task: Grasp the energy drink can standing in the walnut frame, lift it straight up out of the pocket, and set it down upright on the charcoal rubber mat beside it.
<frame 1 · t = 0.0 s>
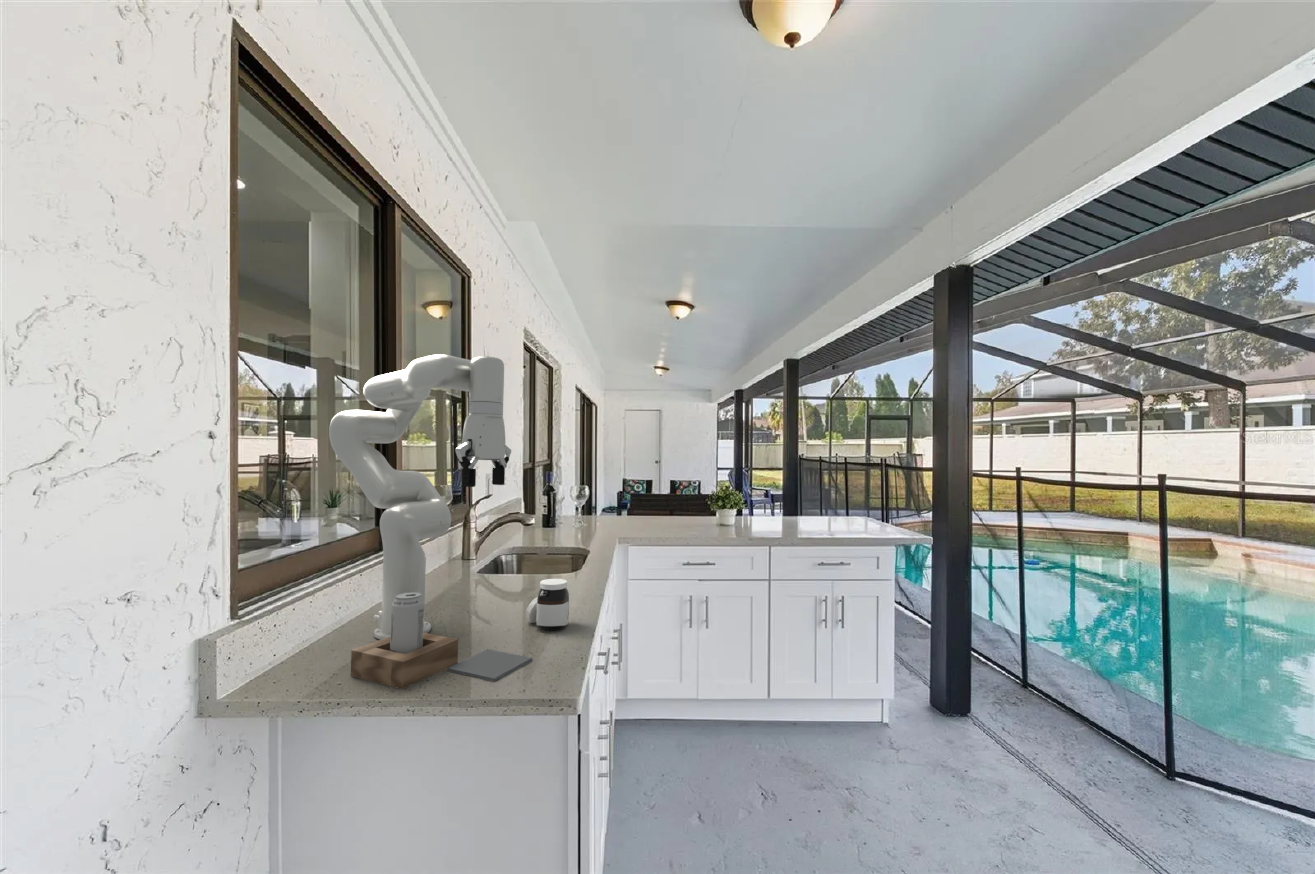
hand: (484, 485, 125), 37 cm above the counter, tool pointing down, fingers open, 9 cm apart
energy drink can: (405, 670, 111), resting in walnut frame
walnut frame: (405, 669, 111), on the counter
spread jar: (546, 627, 140), on the counter
rubber mat: (490, 665, 113), on the counter
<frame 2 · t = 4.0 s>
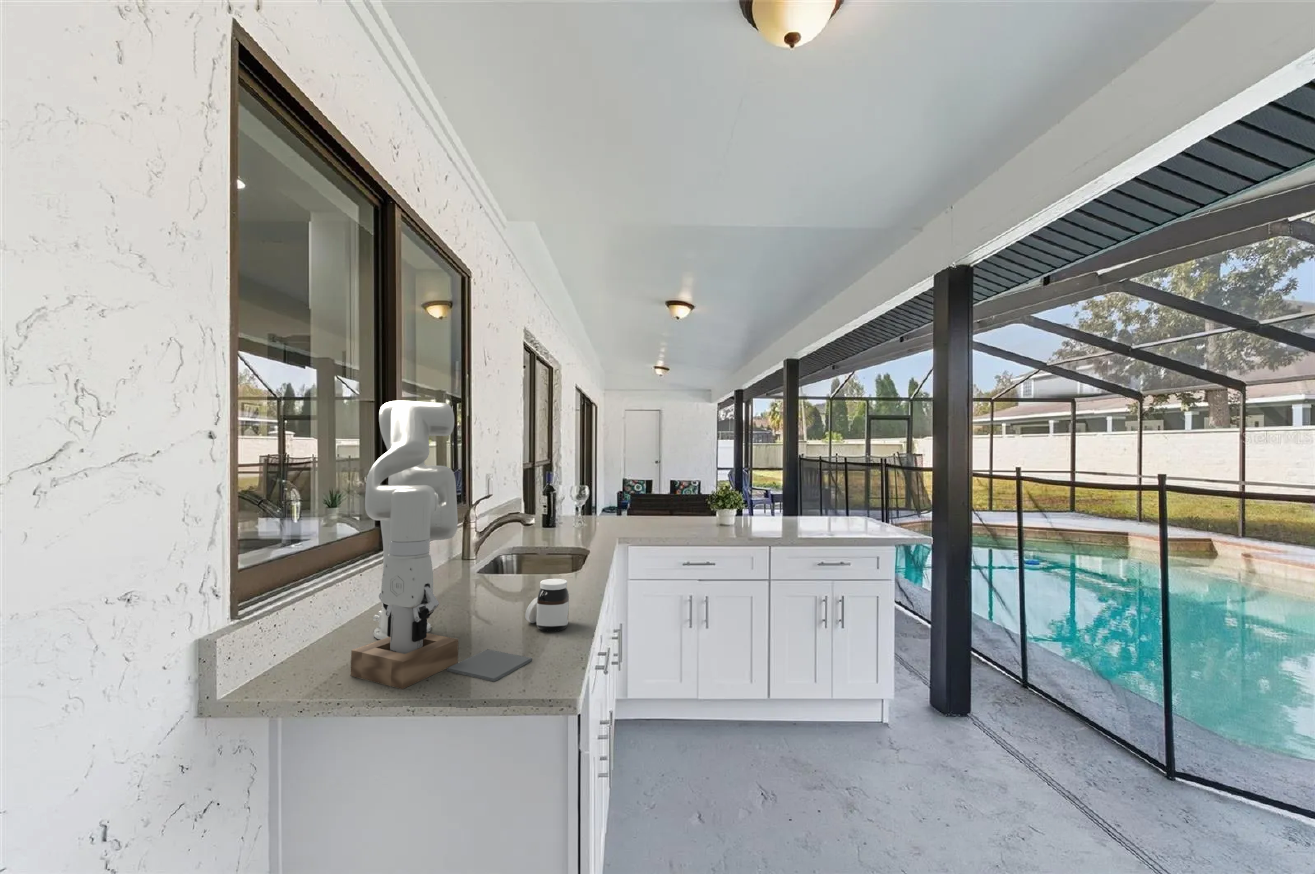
hand: (406, 636, 111), 7 cm above the counter, tool pointing down, fingers closed on energy drink can, 6 cm apart
energy drink can: (405, 670, 111), resting in walnut frame, touching gripper
everything else where it was.
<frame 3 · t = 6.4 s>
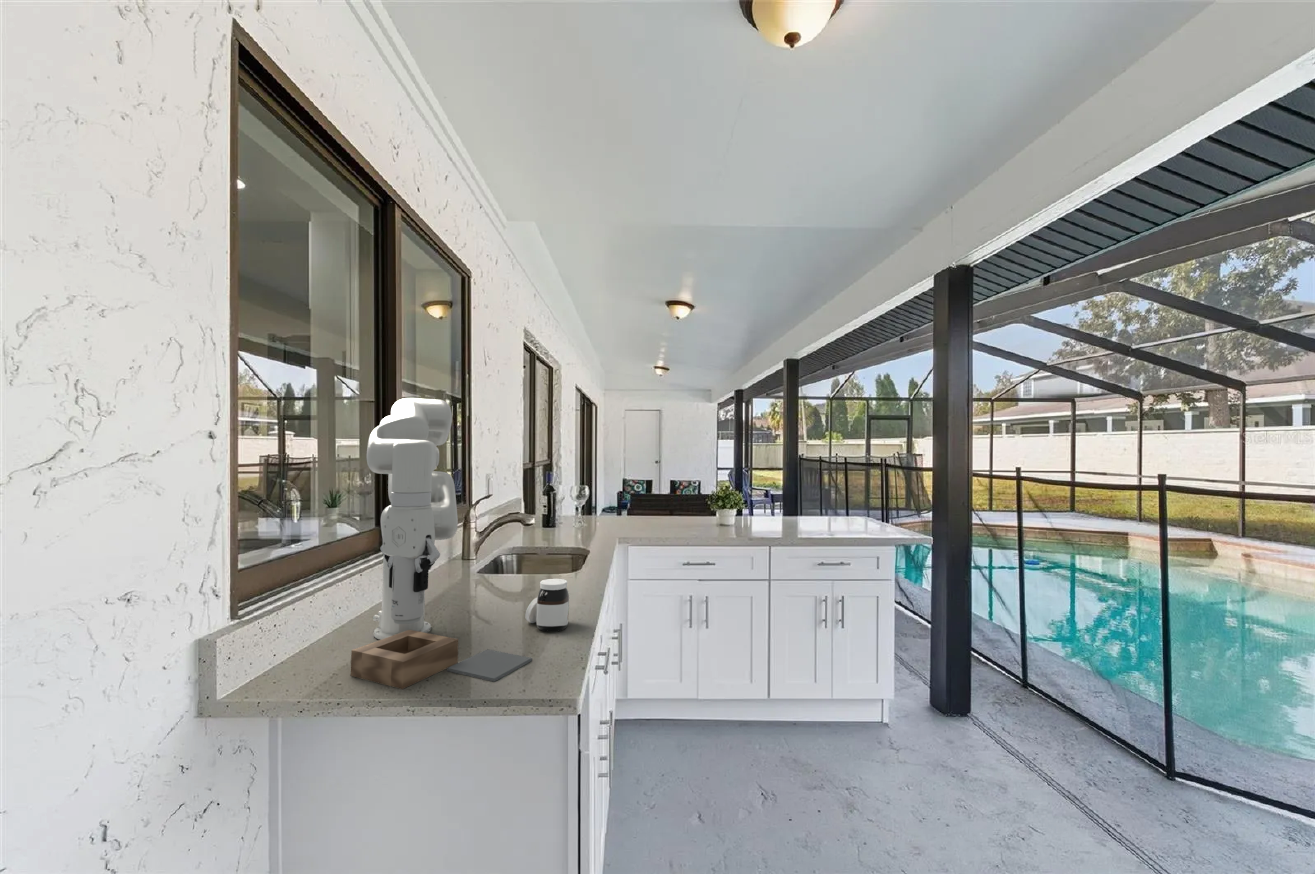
hand: (408, 587, 112), 16 cm above the counter, tool pointing down, fingers closed on energy drink can, 6 cm apart
energy drink can: (407, 621, 111), point 10 cm above the counter, touching gripper
everything else where it was.
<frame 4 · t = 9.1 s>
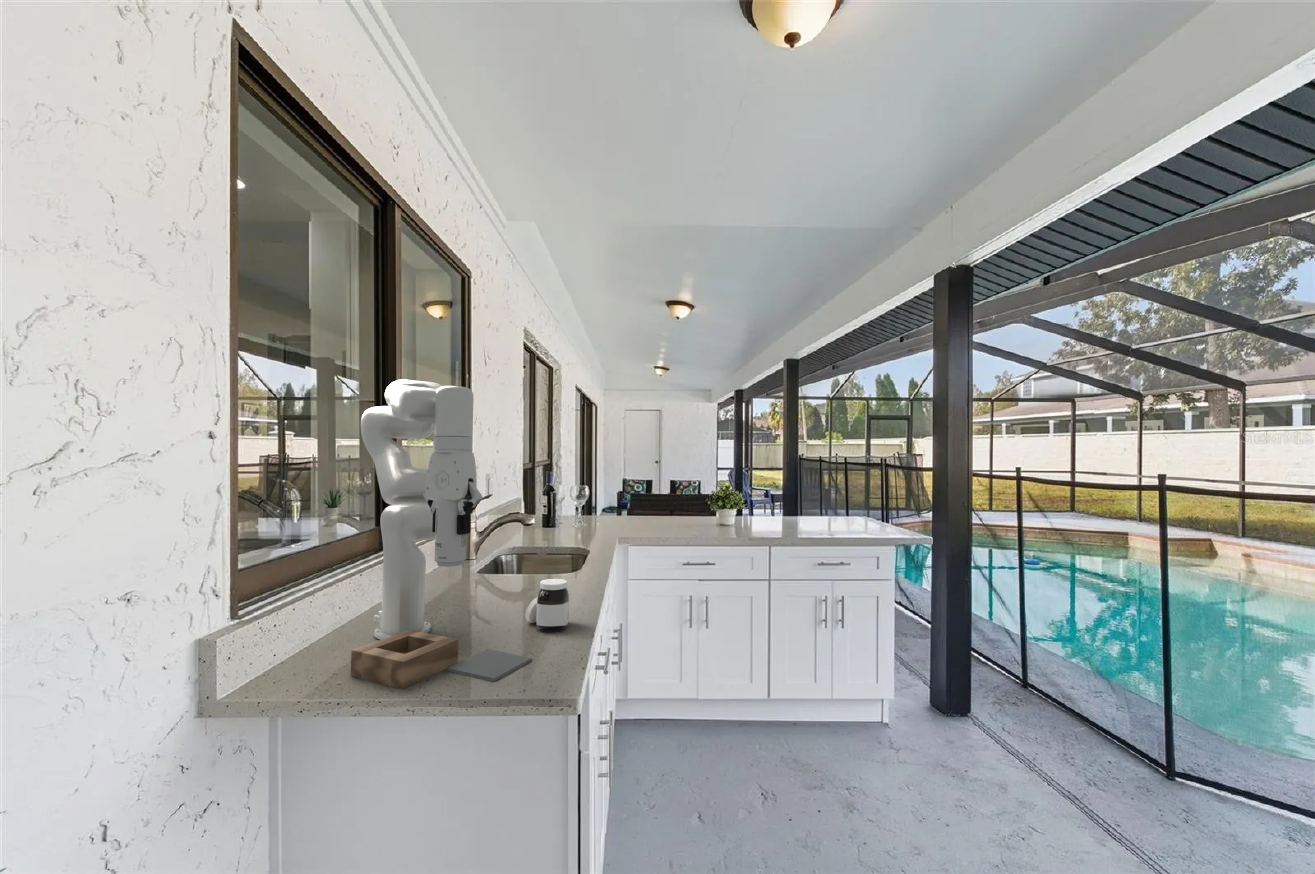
hand: (451, 532, 113), 28 cm above the counter, tool pointing down, fingers closed on energy drink can, 6 cm apart
energy drink can: (450, 565, 112), point 21 cm above the counter, touching gripper
everything else where it was.
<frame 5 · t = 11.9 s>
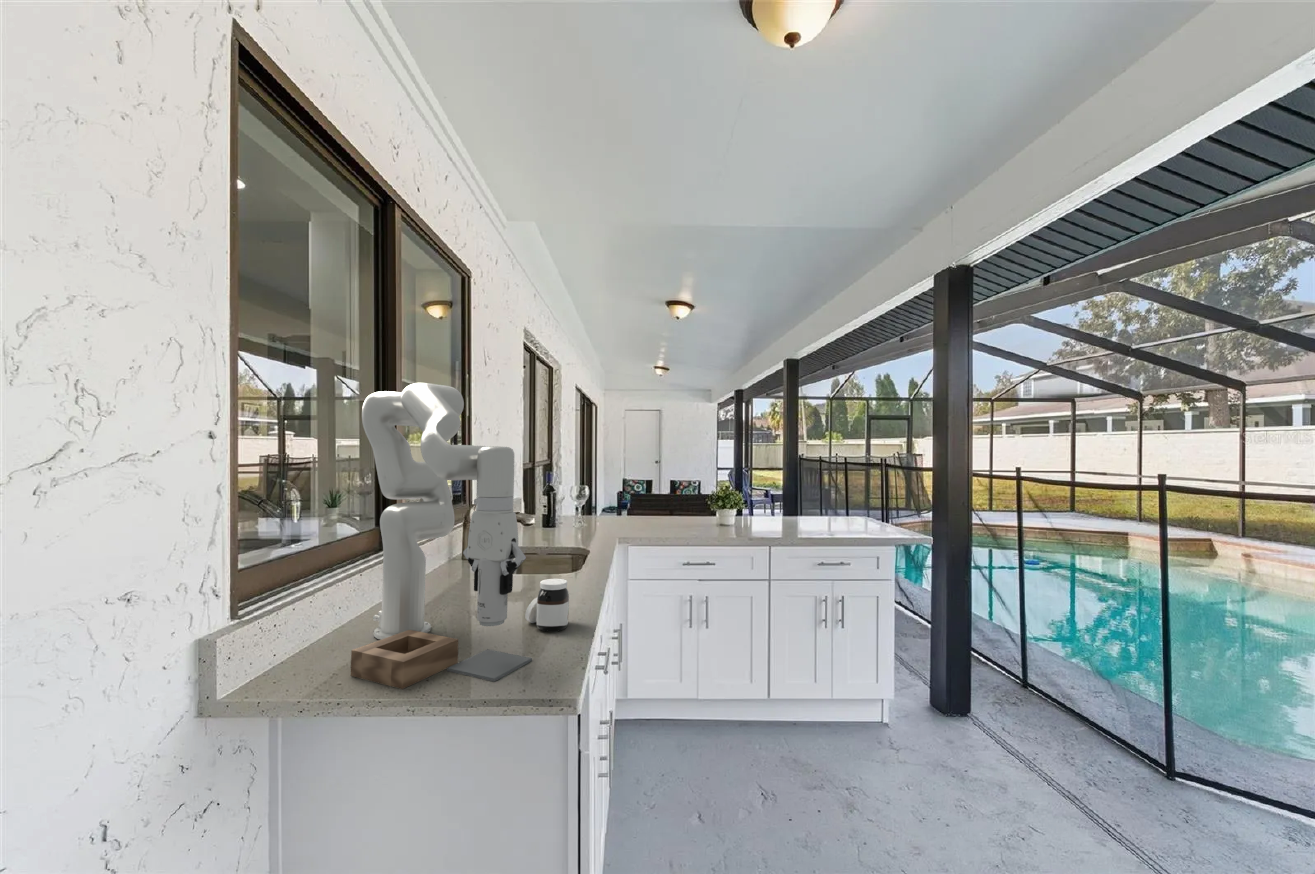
hand: (493, 590, 114), 15 cm above the counter, tool pointing down, fingers closed on energy drink can, 6 cm apart
energy drink can: (492, 623, 113), point 9 cm above the counter, touching gripper
everything else where it was.
when the fingers open (8 cm above the counter, at t = 14.2 s): energy drink can drops 1 cm, resting on rubber mat.
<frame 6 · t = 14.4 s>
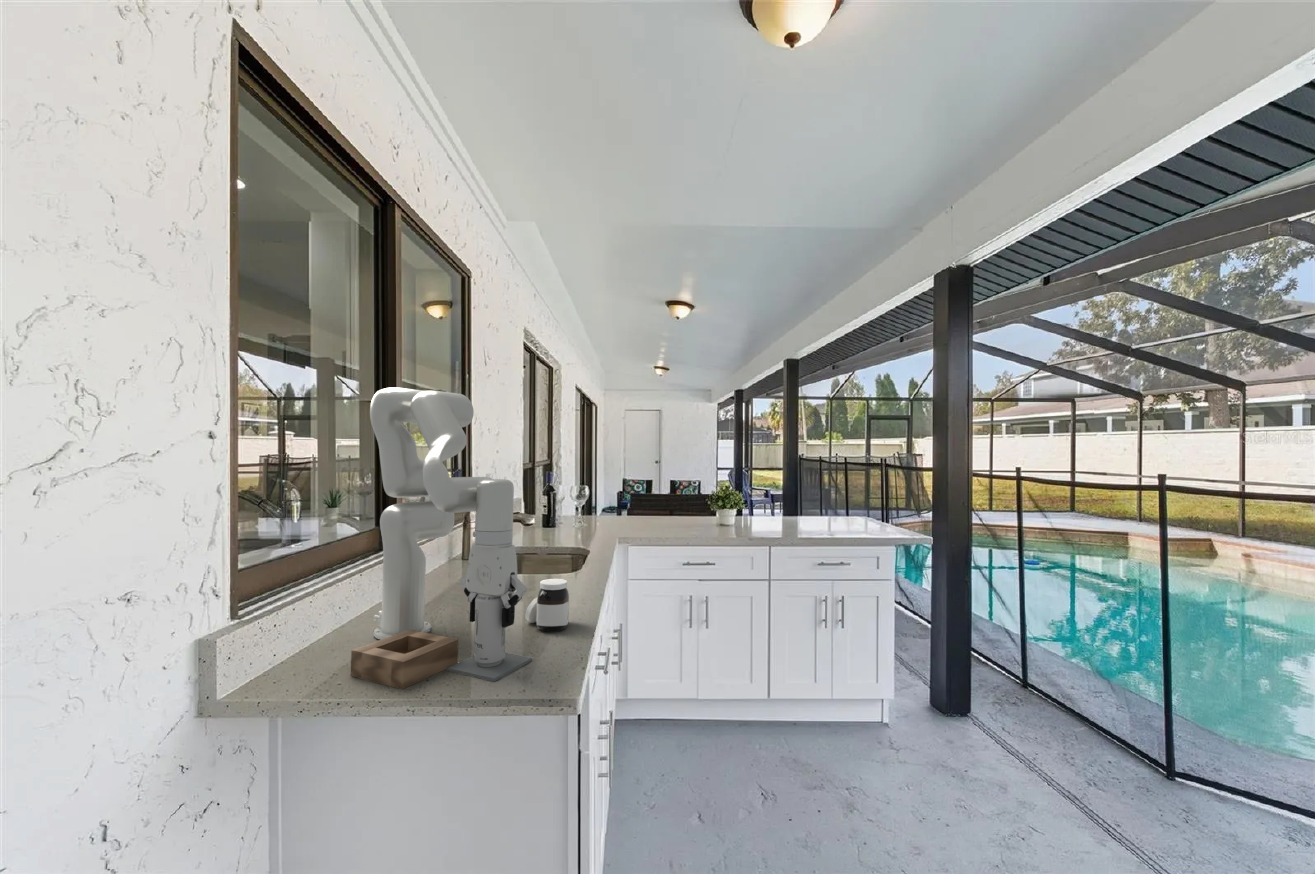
hand: (491, 622, 114), 9 cm above the counter, tool pointing down, fingers open, 7 cm apart
energy drink can: (489, 663, 113), resting on rubber mat
everything else where it was.
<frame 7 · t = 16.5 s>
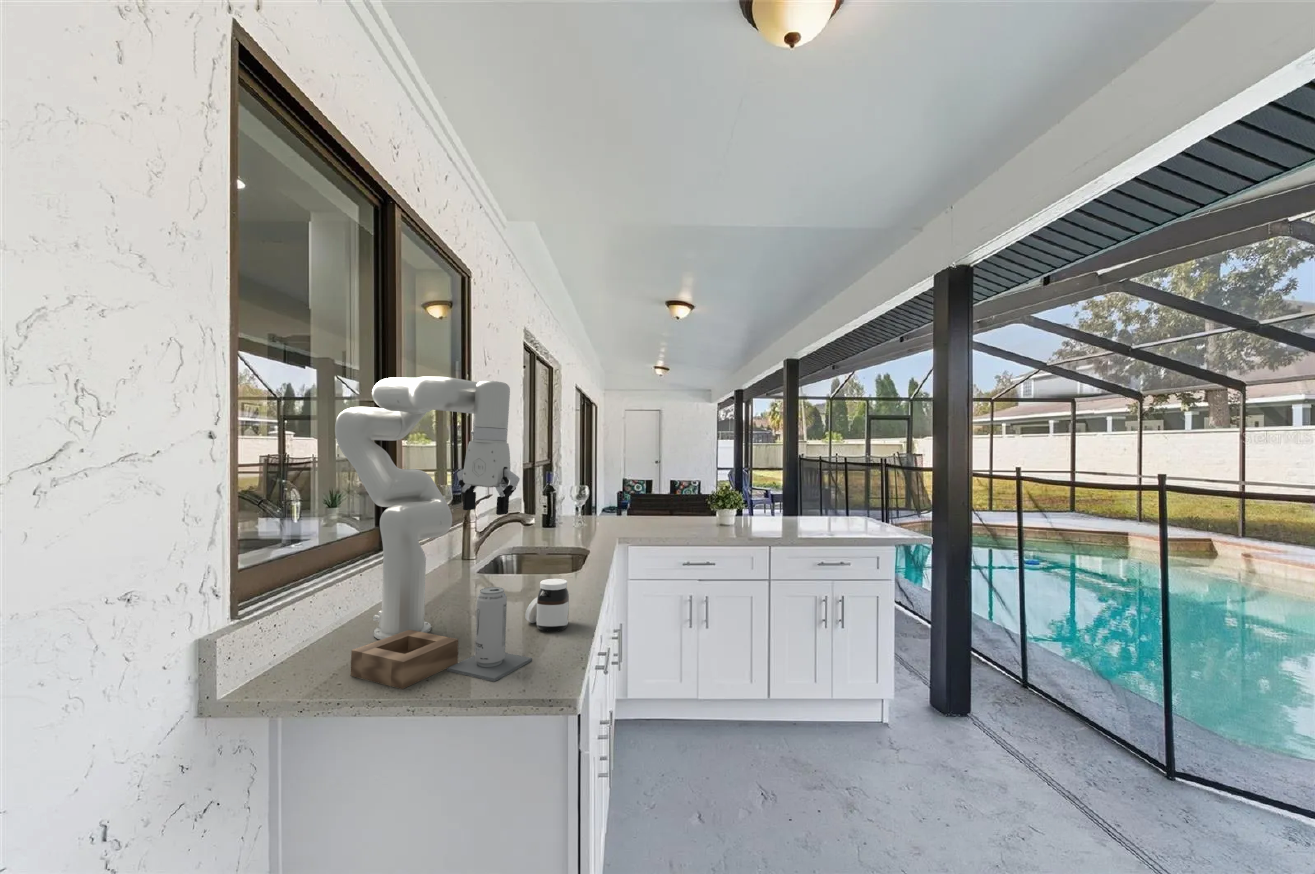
hand: (485, 512, 123), 31 cm above the counter, tool pointing down, fingers open, 9 cm apart
nothing on the counter moved.
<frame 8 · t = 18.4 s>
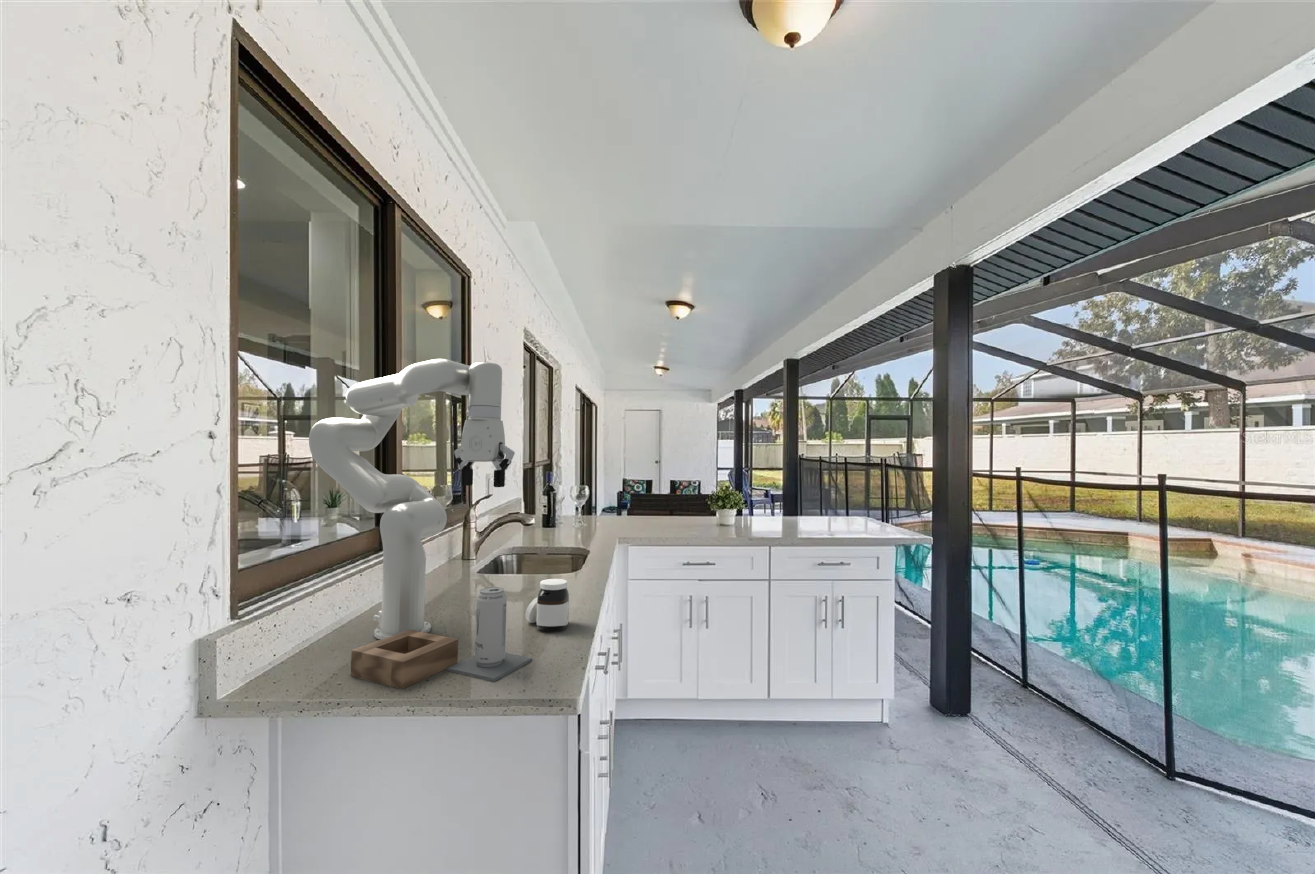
hand: (482, 486, 130), 36 cm above the counter, tool pointing down, fingers open, 9 cm apart
nothing on the counter moved.
at the end: energy drink can inside the target area on the rubber mat (0.2 cm from its centre), point 0.4 cm above the rubber mat's base; energy drink can tilted 0°; the gripper is holding nothing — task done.
